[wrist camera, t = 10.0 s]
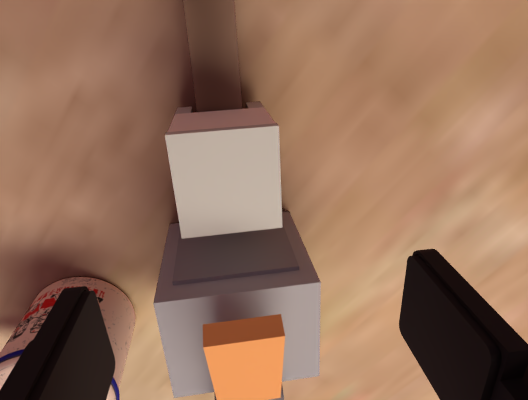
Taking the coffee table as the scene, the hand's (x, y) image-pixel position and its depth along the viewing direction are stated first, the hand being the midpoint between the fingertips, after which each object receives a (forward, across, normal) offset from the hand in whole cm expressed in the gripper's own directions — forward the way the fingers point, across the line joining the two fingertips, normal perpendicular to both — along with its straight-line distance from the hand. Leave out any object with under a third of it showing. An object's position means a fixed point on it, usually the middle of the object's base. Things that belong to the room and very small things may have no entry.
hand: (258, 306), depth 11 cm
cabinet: (+19, +1, +11) cm, 22 cm away
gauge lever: (+8, +1, +10) cm, 13 cm away
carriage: (+19, +1, 0) cm, 19 cm away
